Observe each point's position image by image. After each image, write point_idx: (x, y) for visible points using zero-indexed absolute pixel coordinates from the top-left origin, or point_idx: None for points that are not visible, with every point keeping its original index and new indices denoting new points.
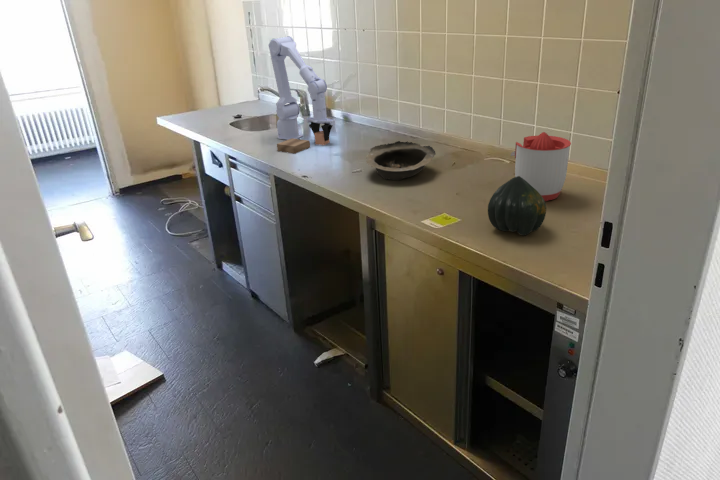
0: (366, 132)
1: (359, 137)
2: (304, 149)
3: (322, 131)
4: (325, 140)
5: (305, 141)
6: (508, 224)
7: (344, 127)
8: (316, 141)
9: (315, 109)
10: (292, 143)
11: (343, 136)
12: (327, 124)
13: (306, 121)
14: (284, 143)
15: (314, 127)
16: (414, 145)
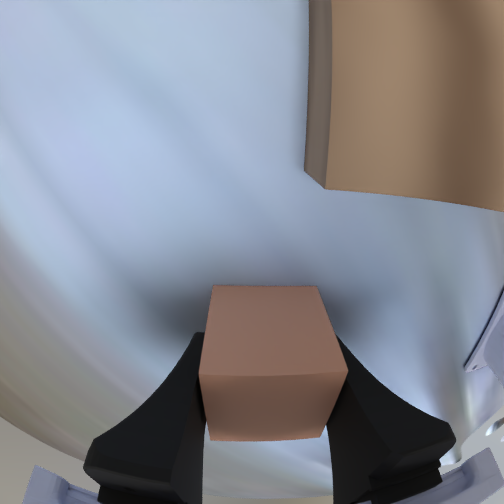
0: None
1: None
2: (309, 69)
3: (280, 430)
4: (199, 334)
5: (355, 124)
6: None
7: (313, 484)
8: (305, 303)
9: None
10: (444, 11)
11: (230, 445)
12: (115, 498)
13: (492, 456)
14: (500, 21)
15: (366, 442)
16: None
